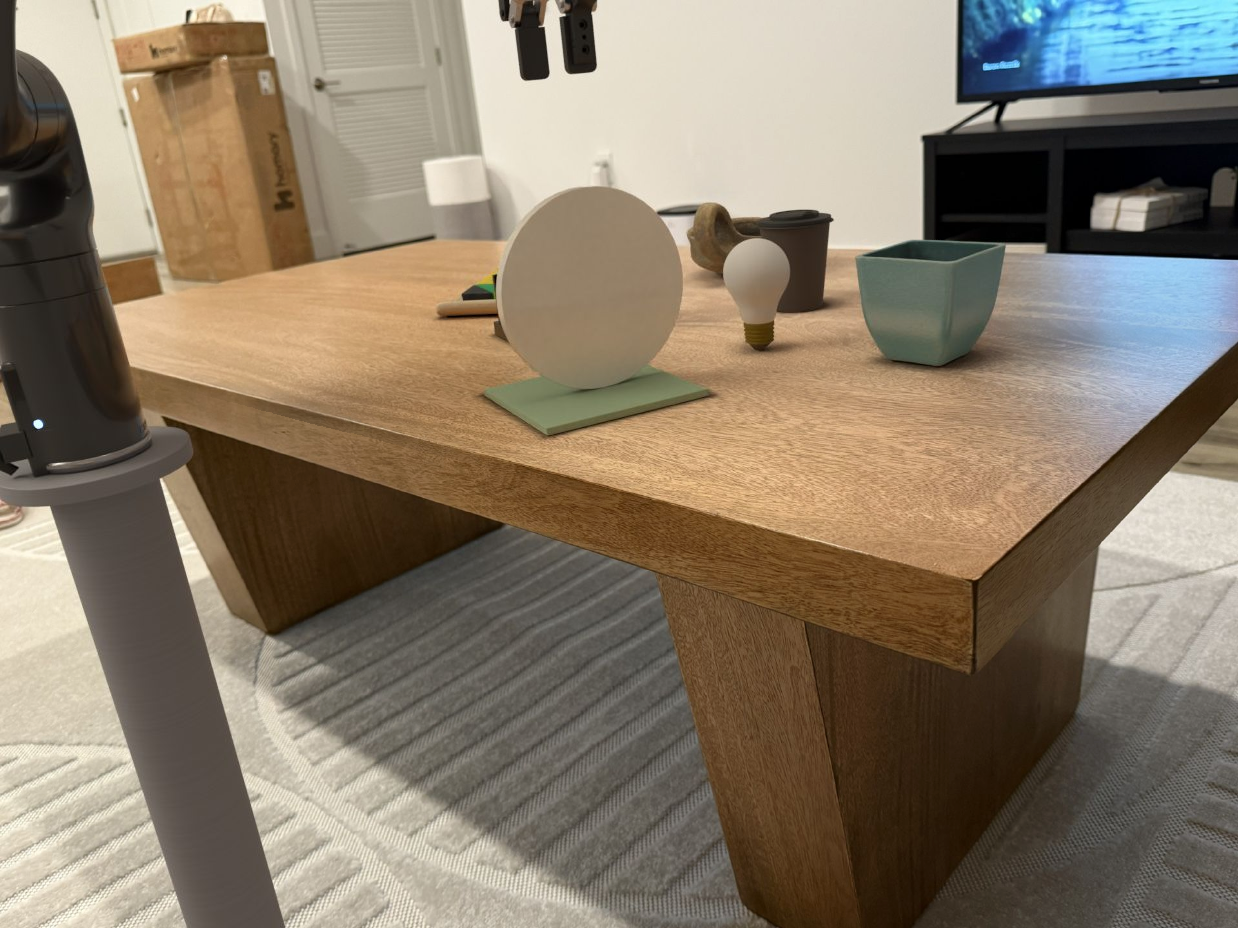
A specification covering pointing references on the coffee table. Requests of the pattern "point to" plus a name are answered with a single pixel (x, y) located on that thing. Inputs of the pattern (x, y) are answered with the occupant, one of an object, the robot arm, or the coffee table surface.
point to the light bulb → (757, 286)
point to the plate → (589, 287)
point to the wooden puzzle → (472, 300)
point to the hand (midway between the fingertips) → (557, 77)
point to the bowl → (718, 235)
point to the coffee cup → (800, 255)
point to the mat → (591, 399)
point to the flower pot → (929, 297)
